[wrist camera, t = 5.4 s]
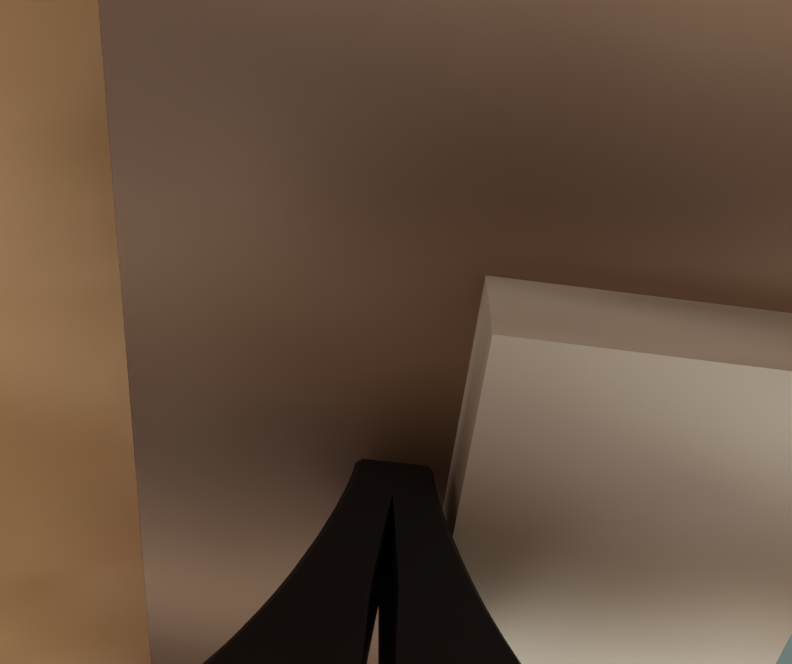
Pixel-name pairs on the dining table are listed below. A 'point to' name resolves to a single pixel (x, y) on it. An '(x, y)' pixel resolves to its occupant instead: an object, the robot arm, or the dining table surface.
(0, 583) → the dining table surface
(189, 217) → the walnut board
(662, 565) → the birch tile
